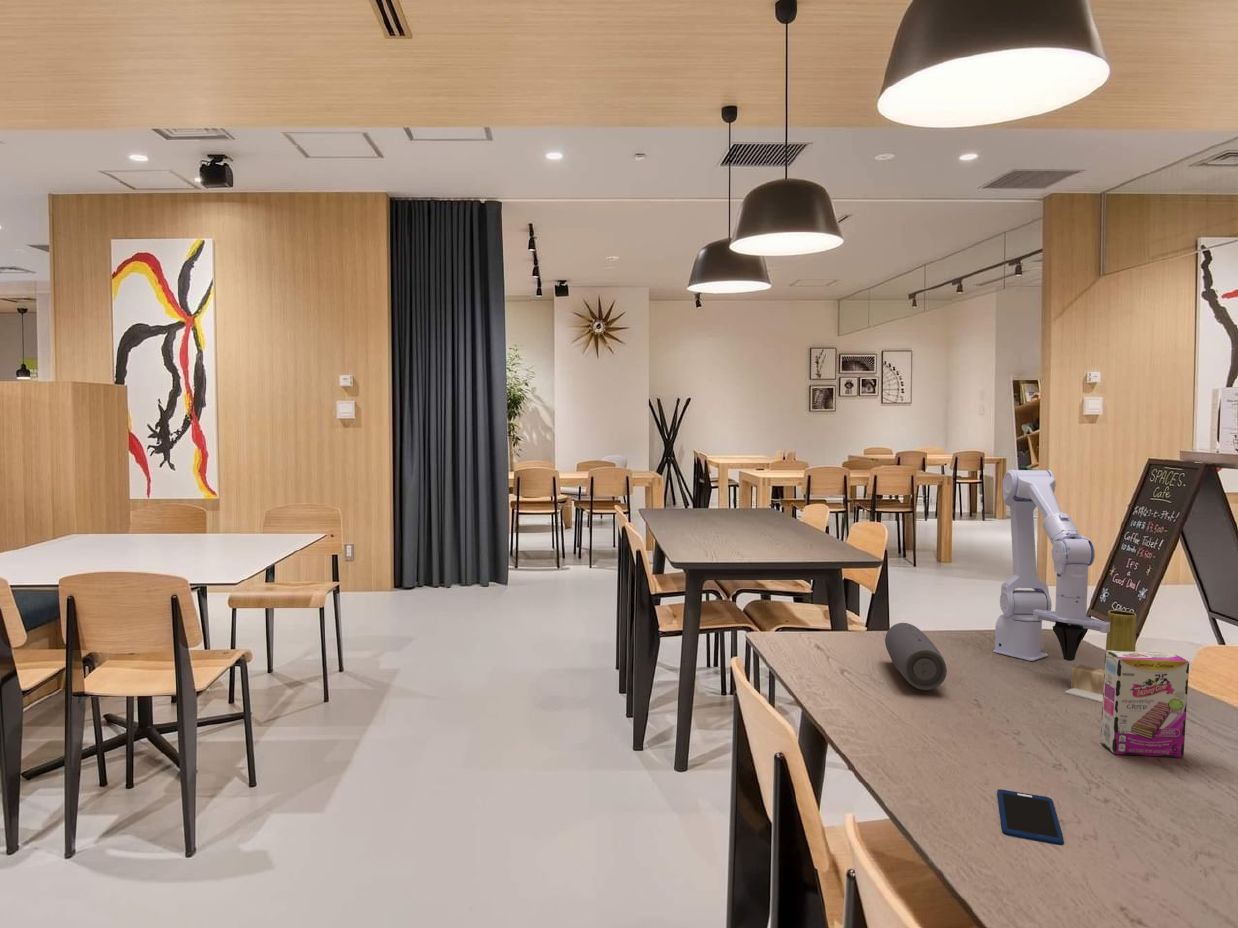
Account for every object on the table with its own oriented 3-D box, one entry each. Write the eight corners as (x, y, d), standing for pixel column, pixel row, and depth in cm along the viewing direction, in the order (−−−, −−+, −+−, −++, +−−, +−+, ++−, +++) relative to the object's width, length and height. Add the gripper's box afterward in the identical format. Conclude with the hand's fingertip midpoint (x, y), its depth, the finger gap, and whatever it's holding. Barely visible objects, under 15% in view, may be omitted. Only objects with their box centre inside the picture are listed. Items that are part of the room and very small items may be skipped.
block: (1071, 667, 165) (1113, 677, 159) (1080, 664, 168) (1122, 674, 161) (1070, 686, 166) (1113, 697, 159) (1079, 683, 168) (1121, 693, 162)
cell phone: (1052, 802, 116) (1052, 797, 116) (1065, 848, 103) (1065, 843, 103) (996, 792, 119) (996, 787, 119) (1002, 836, 106) (1002, 831, 106)
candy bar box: (1114, 755, 132) (1118, 657, 131) (1099, 743, 137) (1102, 649, 136) (1186, 759, 131) (1191, 660, 130) (1168, 746, 136) (1172, 651, 135)
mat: (1064, 692, 163) (1065, 691, 163) (1091, 681, 170) (1091, 680, 170) (1113, 705, 155) (1113, 703, 155) (1138, 693, 163) (1138, 691, 163)
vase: (1142, 682, 170) (1145, 616, 169) (1113, 682, 170) (1116, 615, 169) (1125, 673, 176) (1127, 609, 175) (1097, 673, 176) (1099, 609, 175)
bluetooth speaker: (949, 697, 160) (950, 648, 159) (901, 695, 161) (902, 646, 161) (924, 664, 182) (925, 620, 182) (882, 662, 183) (883, 619, 183)
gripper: (1027, 591, 170) (1024, 654, 171) (1100, 604, 159) (1097, 671, 159) (1043, 587, 175) (1041, 649, 175) (1115, 599, 163) (1113, 665, 164)
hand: (1069, 659), depth 168 cm, fingers closed
